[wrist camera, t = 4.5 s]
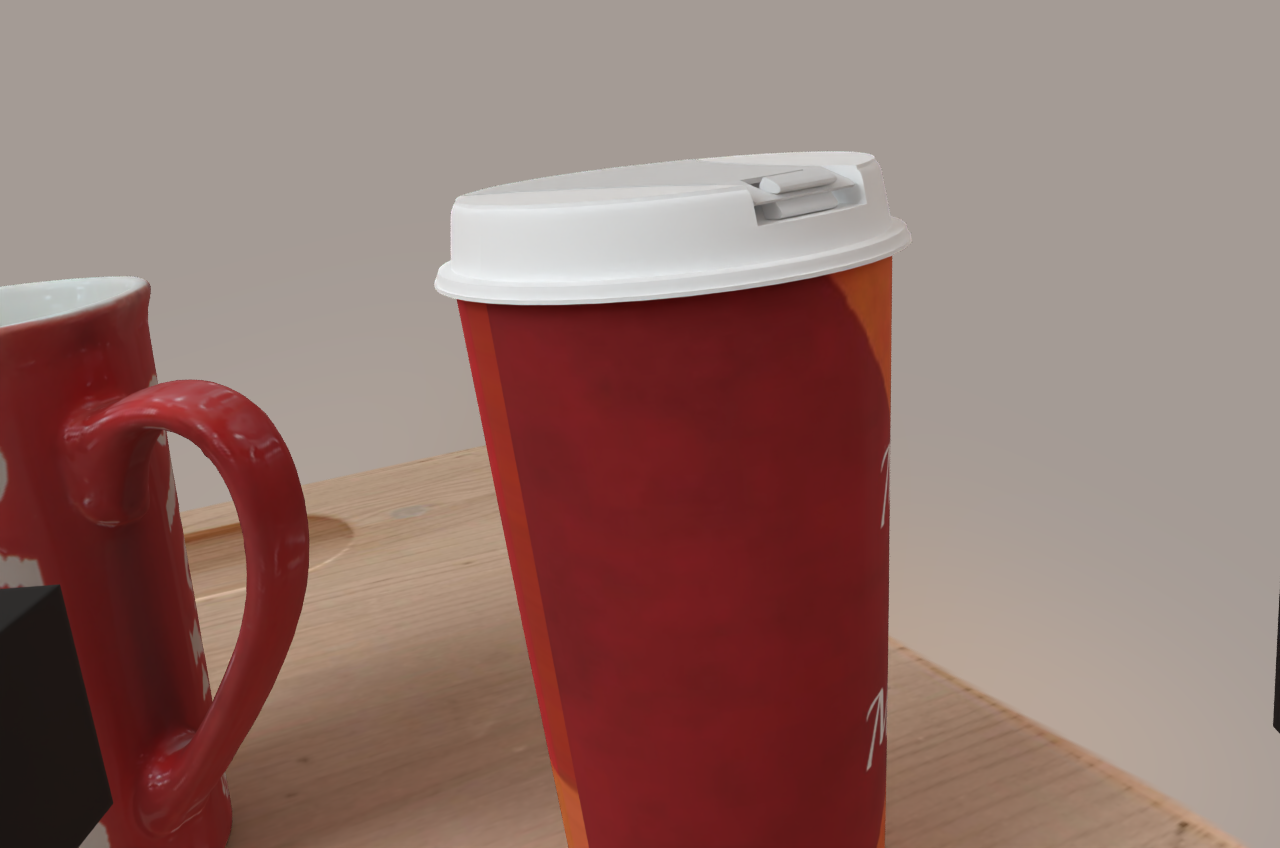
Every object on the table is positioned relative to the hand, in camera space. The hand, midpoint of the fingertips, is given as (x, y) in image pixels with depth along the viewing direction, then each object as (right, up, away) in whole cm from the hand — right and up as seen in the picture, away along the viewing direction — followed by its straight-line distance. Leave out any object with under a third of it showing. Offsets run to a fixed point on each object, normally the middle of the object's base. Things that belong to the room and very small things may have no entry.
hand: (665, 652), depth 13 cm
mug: (-12, -8, +15) cm, 21 cm away
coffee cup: (+2, -8, +12) cm, 14 cm away
